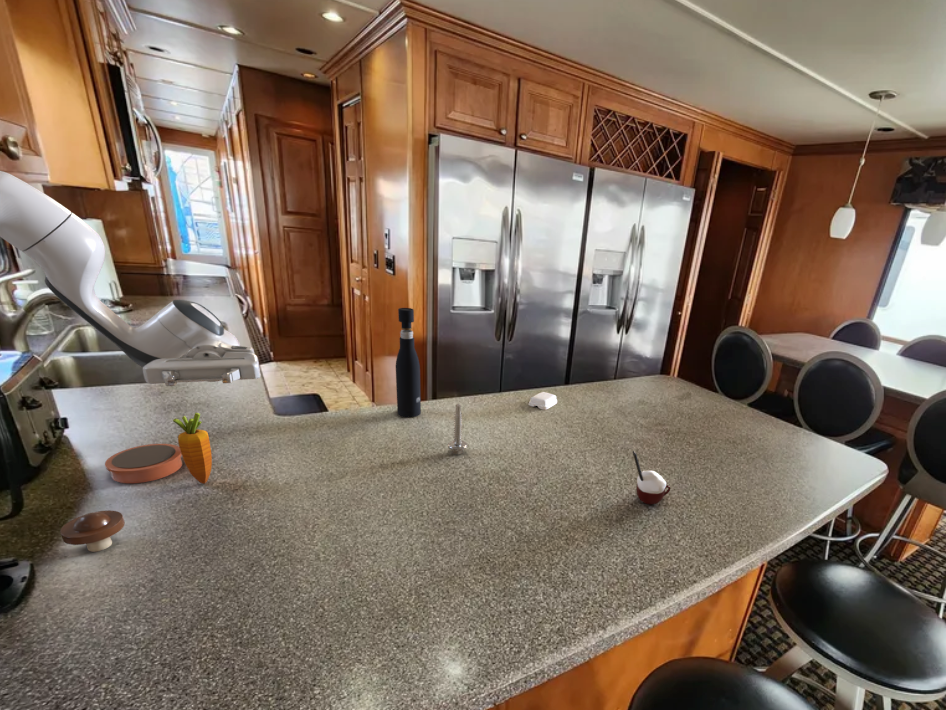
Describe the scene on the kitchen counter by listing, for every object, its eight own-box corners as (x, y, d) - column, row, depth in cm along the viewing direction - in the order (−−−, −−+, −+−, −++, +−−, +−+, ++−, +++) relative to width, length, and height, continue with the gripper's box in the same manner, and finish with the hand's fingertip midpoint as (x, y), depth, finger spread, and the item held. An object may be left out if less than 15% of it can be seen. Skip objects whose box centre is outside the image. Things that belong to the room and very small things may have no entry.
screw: (462, 458, 111) (444, 454, 112) (470, 450, 115) (452, 446, 116) (463, 408, 106) (444, 405, 107) (471, 402, 110) (453, 398, 111)
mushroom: (56, 554, 71) (43, 522, 68) (108, 528, 77) (98, 498, 75) (91, 565, 69) (79, 533, 67) (140, 538, 75) (131, 507, 73)
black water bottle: (397, 409, 134) (393, 306, 123) (420, 408, 136) (418, 307, 125) (397, 418, 129) (392, 310, 117) (421, 417, 130) (418, 311, 119)
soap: (540, 397, 155) (541, 389, 154) (558, 402, 152) (559, 394, 151) (527, 405, 147) (527, 396, 146) (545, 410, 144) (546, 401, 143)
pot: (92, 476, 90) (88, 462, 88) (155, 451, 100) (152, 438, 99) (139, 489, 87) (135, 475, 86) (199, 462, 98) (196, 449, 97)
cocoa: (667, 496, 103) (678, 449, 99) (667, 512, 98) (678, 462, 93) (626, 488, 105) (634, 441, 100) (623, 502, 99) (632, 453, 95)
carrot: (183, 490, 88) (165, 420, 83) (194, 477, 93) (178, 409, 87) (213, 489, 90) (197, 419, 84) (223, 476, 94) (209, 409, 88)
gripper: (149, 349, 99) (128, 368, 88) (260, 347, 108) (253, 364, 97) (157, 377, 102) (136, 399, 90) (264, 372, 110) (258, 392, 99)
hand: (198, 381), depth 94 cm, fingers open, 8 cm apart
